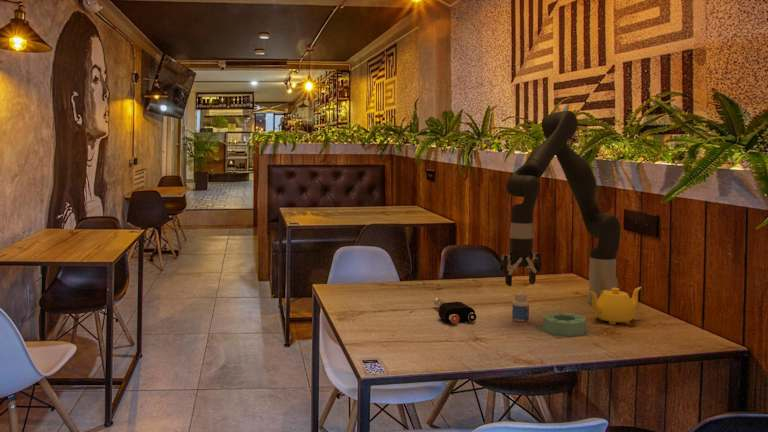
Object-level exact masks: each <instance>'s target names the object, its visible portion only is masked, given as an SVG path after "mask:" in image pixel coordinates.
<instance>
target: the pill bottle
mask: <svg viewBox="0 0 768 432" xmlns="http://www.w3.org/2000/svg"><path fill="white" fill-rule="evenodd" d="M527 299H528V294H527V293H519V292H518V293H517V292H516V293H515V294H514V300H513V301H512V309H511V310H512V312H511V316H512V317H511V322H512V323H513V324H515V325H528V324H529V322H530V321H529V320H530V319H529V317H530V315H529V313H530V302H529V301H528V300H527Z"/></svg>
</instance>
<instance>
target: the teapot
mask: <svg viewBox="0 0 768 432" xmlns="http://www.w3.org/2000/svg"><path fill="white" fill-rule="evenodd" d="M641 288H642V286H637V287H636V288H634V290H633V293H632V295H631V297H630V295H629V293H627V292H626V291H621V289H620V288H619V287H617V288H611V290H612V291H607V290H603V291H601V293H600V297H599V298H598V300H597V295H596V293H594V292H591V291H589V290H588V293H589V292H590V293H591V295H592V304H591V306H592V309H593V311H594V314H595V316H596V317H597V318H598V319H599V320H600V321H606V322H608V324H609V325H616V323H623V325H631V321H632V320H633V319H634V318H635V317H636V313H637V311H636V308H637V307H638V303H639V301H638V300H639V296H638V295H639V291H640V290H641Z"/></svg>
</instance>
